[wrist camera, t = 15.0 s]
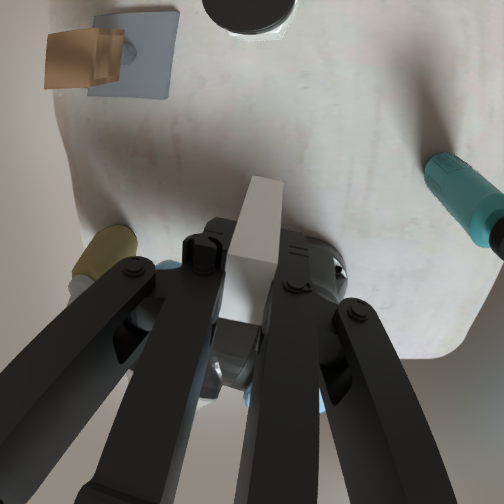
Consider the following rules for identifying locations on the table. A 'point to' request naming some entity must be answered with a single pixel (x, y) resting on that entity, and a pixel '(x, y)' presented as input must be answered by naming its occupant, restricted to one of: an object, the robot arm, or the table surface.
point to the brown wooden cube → (83, 58)
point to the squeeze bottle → (101, 257)
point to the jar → (253, 17)
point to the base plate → (142, 54)
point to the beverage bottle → (468, 199)
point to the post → (128, 54)
